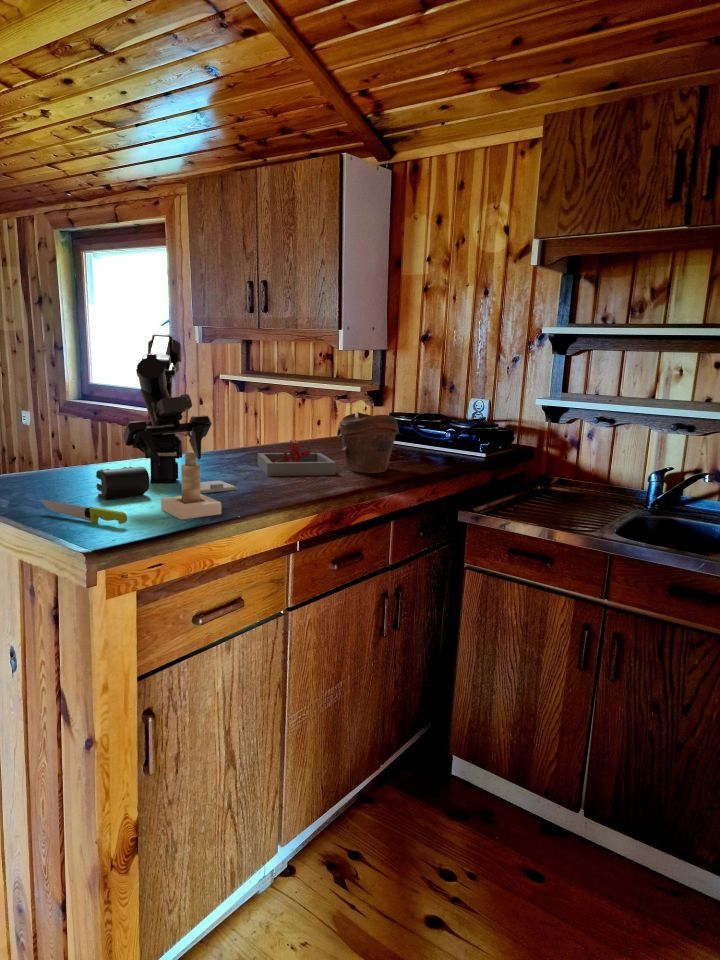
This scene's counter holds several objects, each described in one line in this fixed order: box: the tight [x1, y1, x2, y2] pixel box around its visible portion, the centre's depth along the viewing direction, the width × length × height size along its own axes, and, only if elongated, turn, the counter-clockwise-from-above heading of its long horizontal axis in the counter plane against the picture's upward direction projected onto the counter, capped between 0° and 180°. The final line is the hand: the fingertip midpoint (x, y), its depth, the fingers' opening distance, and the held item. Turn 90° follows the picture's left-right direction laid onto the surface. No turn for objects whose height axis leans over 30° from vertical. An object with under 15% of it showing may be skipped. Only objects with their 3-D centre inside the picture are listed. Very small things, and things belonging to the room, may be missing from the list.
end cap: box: [95, 466, 151, 500], centre depth 144 cm, size 10×7×7 cm
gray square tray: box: [257, 452, 337, 477], centre depth 188 cm, size 20×19×4 cm
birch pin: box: [180, 452, 201, 504], centre depth 132 cm, size 4×4×12 cm
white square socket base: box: [160, 493, 222, 520], centre depth 133 cm, size 10×9×2 cm
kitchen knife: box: [40, 499, 128, 525], centre depth 123 cm, size 22×1×3 cm, turn 67°
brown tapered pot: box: [336, 411, 400, 474], centre depth 193 cm, size 18×20×18 cm
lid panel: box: [200, 480, 237, 494], centre depth 157 cm, size 9×10×2 cm
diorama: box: [276, 439, 311, 462], centre depth 188 cm, size 11×12×8 cm
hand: (179, 461), depth 138 cm, fingers open, 9 cm apart
